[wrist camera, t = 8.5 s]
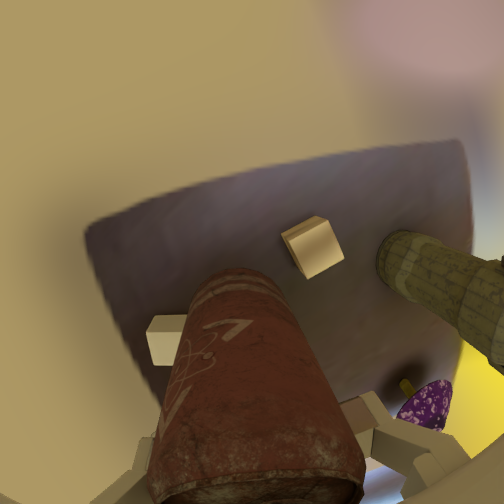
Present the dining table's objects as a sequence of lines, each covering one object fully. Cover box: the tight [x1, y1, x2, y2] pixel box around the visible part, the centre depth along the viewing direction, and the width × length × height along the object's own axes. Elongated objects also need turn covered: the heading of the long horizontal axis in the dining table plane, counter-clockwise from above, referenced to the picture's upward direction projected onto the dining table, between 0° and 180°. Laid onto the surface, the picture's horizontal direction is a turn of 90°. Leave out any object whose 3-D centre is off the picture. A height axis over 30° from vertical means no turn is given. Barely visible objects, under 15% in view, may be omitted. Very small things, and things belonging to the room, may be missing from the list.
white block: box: [146, 315, 187, 366], centre depth 35 cm, size 5×5×5 cm
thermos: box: [376, 230, 504, 375], centre depth 21 cm, size 9×12×35 cm
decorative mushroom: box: [396, 379, 453, 432], centre depth 36 cm, size 12×12×15 cm
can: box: [147, 268, 366, 504], centre depth 11 cm, size 6×6×14 cm
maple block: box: [281, 216, 344, 279], centre depth 33 cm, size 5×5×5 cm
